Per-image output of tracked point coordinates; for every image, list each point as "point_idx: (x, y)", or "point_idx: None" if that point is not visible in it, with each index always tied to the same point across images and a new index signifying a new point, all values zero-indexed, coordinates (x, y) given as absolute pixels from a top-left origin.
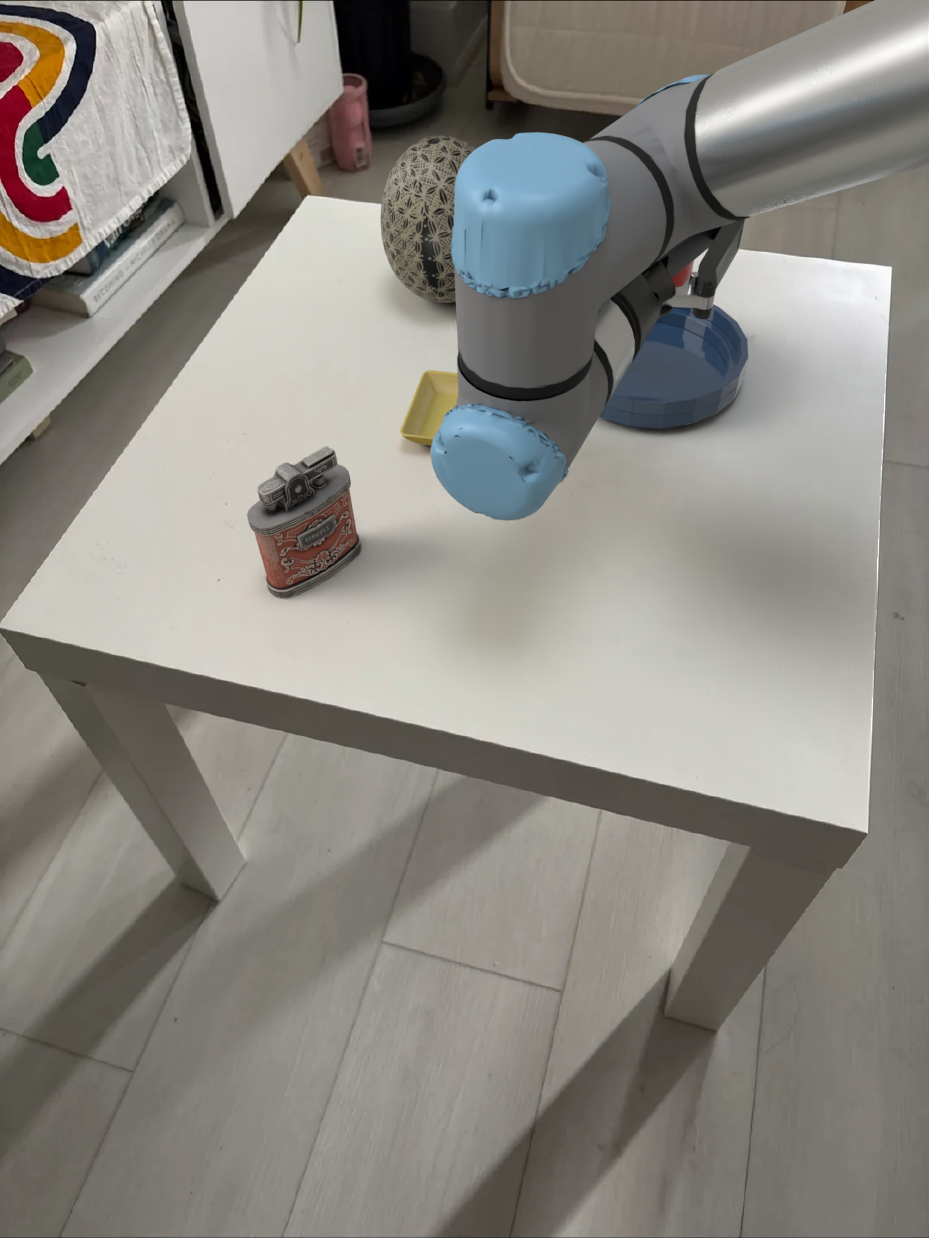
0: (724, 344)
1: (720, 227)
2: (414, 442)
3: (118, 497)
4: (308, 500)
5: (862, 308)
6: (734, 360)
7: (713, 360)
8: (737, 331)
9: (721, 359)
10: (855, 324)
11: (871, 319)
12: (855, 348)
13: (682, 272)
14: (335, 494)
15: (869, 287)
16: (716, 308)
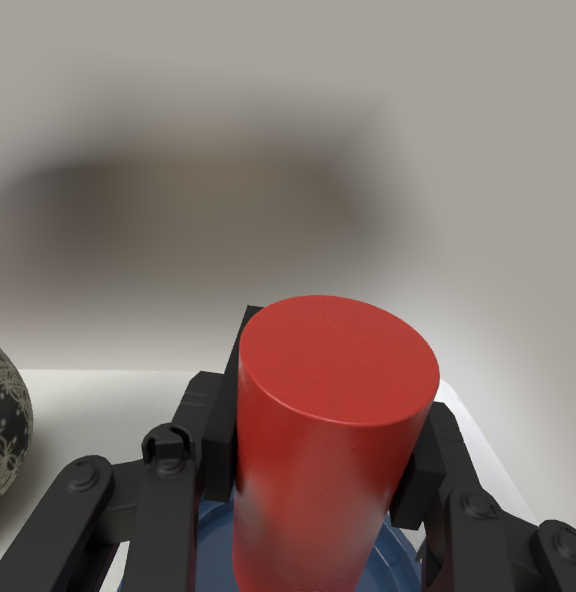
0: (375, 546)
1: (515, 572)
2: None
3: None
4: None
5: (457, 415)
6: (405, 587)
7: (363, 571)
8: (393, 531)
9: (372, 564)
10: (466, 440)
11: (474, 429)
12: (490, 480)
13: (357, 583)
14: None
15: (444, 387)
16: None
